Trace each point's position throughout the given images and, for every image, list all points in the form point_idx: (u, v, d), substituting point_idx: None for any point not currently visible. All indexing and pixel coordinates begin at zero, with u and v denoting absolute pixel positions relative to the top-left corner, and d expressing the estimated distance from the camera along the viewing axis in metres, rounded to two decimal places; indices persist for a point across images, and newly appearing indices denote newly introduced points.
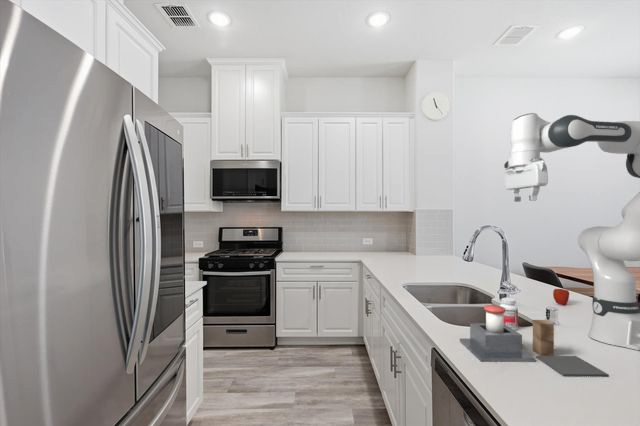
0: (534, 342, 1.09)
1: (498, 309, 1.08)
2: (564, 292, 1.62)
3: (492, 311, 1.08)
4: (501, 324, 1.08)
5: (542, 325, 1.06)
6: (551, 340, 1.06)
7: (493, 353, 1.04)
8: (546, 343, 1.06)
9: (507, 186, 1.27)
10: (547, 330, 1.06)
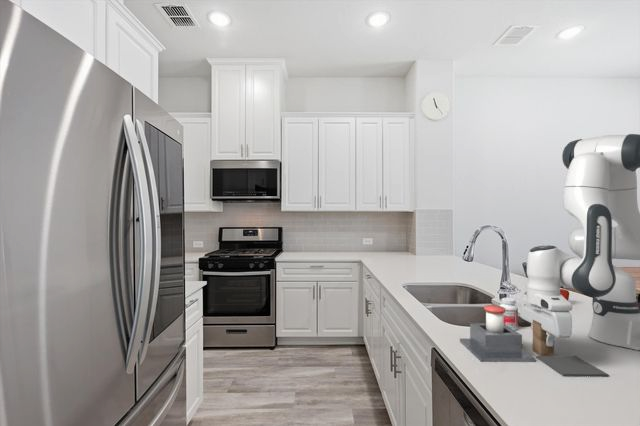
0: (534, 342, 1.09)
1: (498, 309, 1.08)
2: (564, 292, 1.62)
3: (492, 311, 1.08)
4: (501, 324, 1.08)
5: None
6: None
7: (493, 353, 1.04)
8: None
9: None
10: None
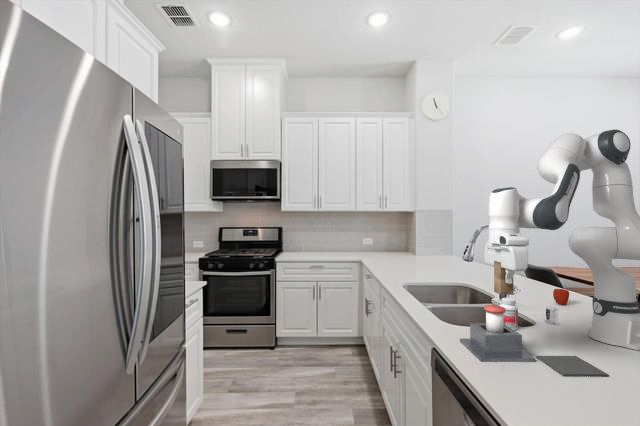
0: (495, 282, 1.11)
1: (498, 309, 1.08)
2: (564, 292, 1.62)
3: (492, 311, 1.08)
4: (501, 324, 1.08)
5: None
6: None
7: (493, 353, 1.04)
8: None
9: None
10: None
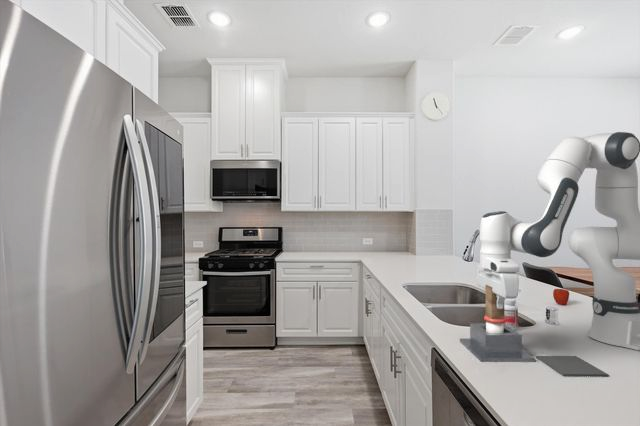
0: (486, 306, 1.11)
1: (498, 319, 1.08)
2: (564, 292, 1.62)
3: (492, 321, 1.08)
4: None
5: None
6: None
7: (493, 353, 1.04)
8: None
9: None
10: None
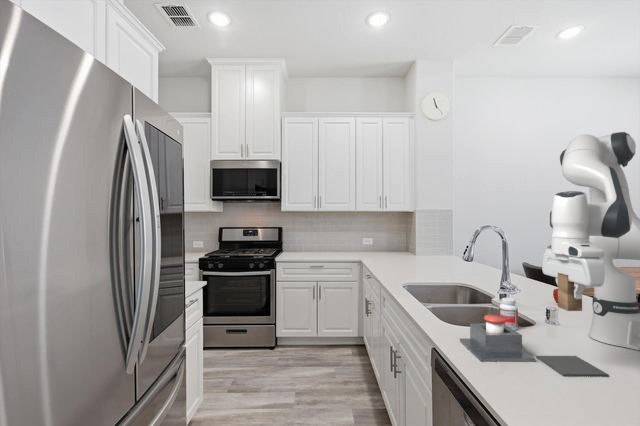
0: (560, 297, 1.00)
1: (498, 319, 1.08)
2: None
3: (492, 321, 1.08)
4: None
5: None
6: None
7: (493, 353, 1.04)
8: None
9: None
10: None
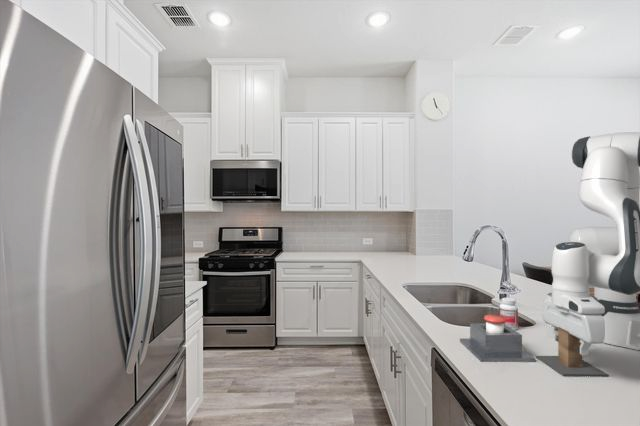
0: (560, 351, 1.00)
1: (498, 319, 1.08)
2: None
3: (492, 321, 1.08)
4: None
5: None
6: None
7: (493, 353, 1.04)
8: (574, 353, 0.97)
9: None
10: (575, 339, 0.97)
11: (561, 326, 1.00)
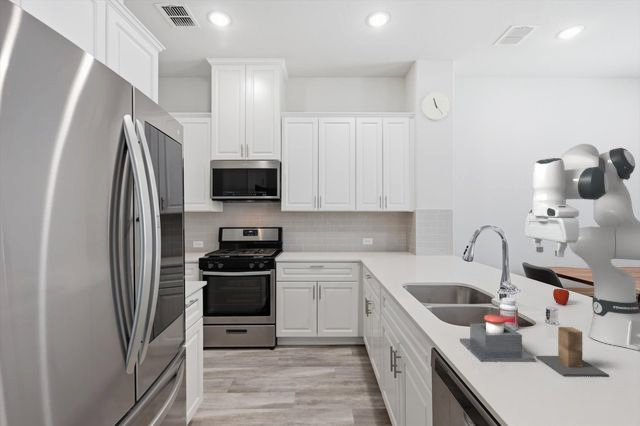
0: (560, 351, 1.00)
1: (498, 319, 1.08)
2: (564, 292, 1.62)
3: (492, 321, 1.08)
4: None
5: (570, 333, 0.97)
6: (579, 350, 0.97)
7: (493, 353, 1.04)
8: (574, 353, 0.97)
9: None
10: (575, 339, 0.97)
11: (541, 235, 1.09)
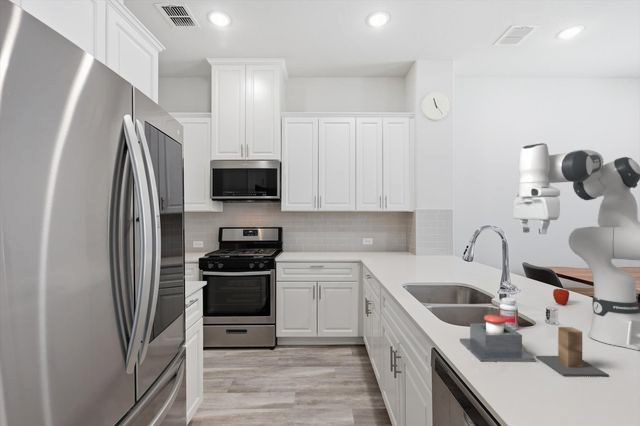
0: (560, 351, 1.00)
1: (498, 319, 1.08)
2: (564, 292, 1.62)
3: (492, 321, 1.08)
4: None
5: (570, 333, 0.97)
6: (579, 350, 0.97)
7: (493, 353, 1.04)
8: (574, 353, 0.97)
9: None
10: (575, 339, 0.97)
11: (526, 216, 1.17)
